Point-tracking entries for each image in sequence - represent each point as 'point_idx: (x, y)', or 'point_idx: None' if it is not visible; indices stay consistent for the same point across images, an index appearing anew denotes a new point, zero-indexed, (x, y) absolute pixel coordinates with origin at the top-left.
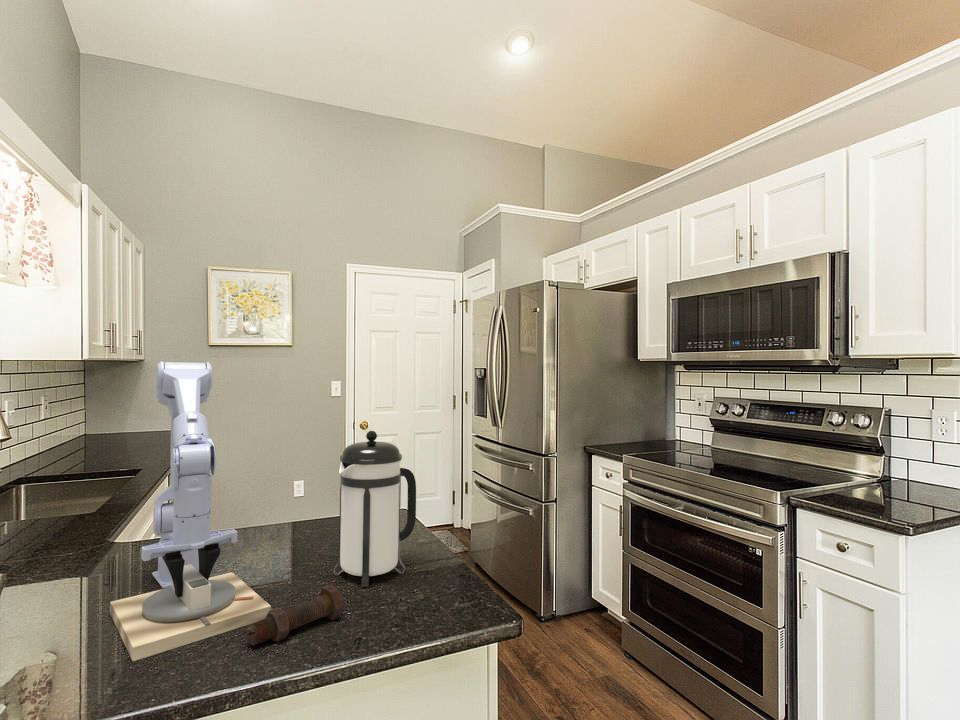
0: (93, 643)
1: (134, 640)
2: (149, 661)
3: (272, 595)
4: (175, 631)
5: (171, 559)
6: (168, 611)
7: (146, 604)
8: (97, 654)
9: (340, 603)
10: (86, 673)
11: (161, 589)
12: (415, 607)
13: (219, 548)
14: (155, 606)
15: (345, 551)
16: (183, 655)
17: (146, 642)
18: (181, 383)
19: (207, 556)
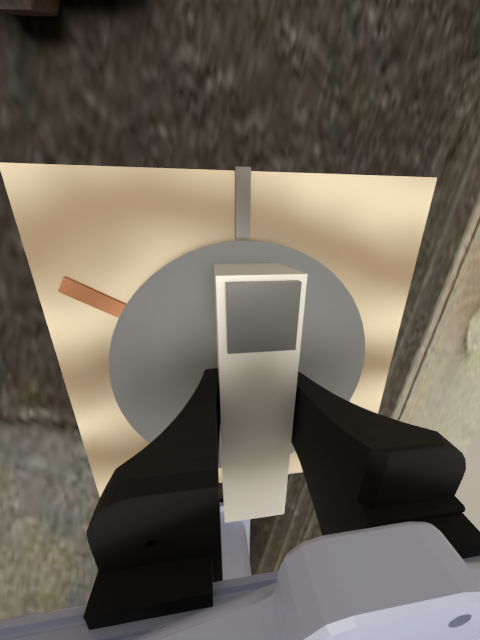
0: (414, 337)
1: (416, 224)
2: (381, 155)
3: (10, 340)
4: (327, 201)
5: (434, 487)
6: (324, 306)
7: (347, 387)
8: (429, 282)
9: None
10: (476, 205)
11: None
12: None
13: (96, 539)
14: (337, 361)
15: None
16: (316, 116)
17: (404, 185)
18: None
19: (210, 462)
